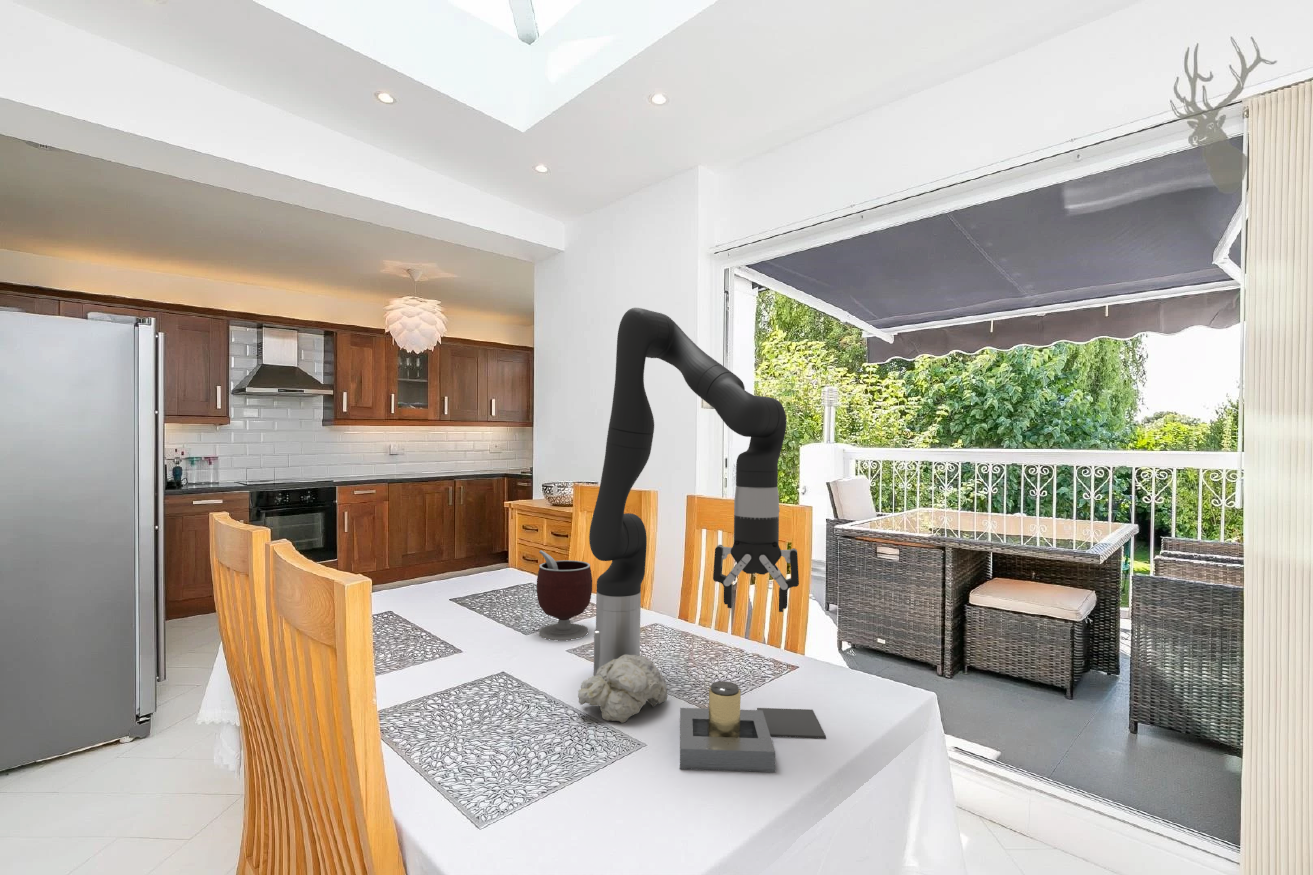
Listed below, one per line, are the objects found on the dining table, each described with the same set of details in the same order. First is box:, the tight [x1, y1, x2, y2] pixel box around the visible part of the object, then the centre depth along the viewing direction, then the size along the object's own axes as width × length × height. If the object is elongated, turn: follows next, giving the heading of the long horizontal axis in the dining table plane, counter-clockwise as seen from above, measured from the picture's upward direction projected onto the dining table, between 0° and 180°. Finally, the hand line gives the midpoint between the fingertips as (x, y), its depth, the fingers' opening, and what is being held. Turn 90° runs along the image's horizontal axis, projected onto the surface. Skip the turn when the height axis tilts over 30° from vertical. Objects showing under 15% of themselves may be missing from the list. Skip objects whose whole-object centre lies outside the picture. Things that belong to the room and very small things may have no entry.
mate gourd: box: [536, 550, 593, 642], centre depth 154 cm, size 16×14×20 cm
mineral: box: [577, 654, 669, 724], centre depth 110 cm, size 12×17×10 cm
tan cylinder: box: [708, 680, 741, 738], centre depth 97 cm, size 5×5×10 cm
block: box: [679, 707, 776, 773], centre depth 97 cm, size 14×14×3 cm
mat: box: [756, 707, 827, 739], centre depth 105 cm, size 10×10×1 cm
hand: (755, 609), depth 103 cm, fingers open, 8 cm apart
